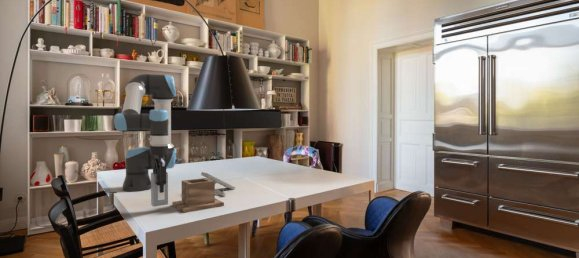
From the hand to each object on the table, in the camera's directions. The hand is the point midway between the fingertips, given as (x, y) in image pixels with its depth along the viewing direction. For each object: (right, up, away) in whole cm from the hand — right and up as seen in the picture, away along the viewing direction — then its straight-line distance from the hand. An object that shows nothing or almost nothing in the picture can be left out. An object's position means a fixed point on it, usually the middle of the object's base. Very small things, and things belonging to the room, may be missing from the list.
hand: (159, 198), depth 142 cm
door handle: (+21, -5, +36) cm, 41 cm away
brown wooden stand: (+14, -5, +9) cm, 18 cm away
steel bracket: (0, -3, 0) cm, 3 cm away
